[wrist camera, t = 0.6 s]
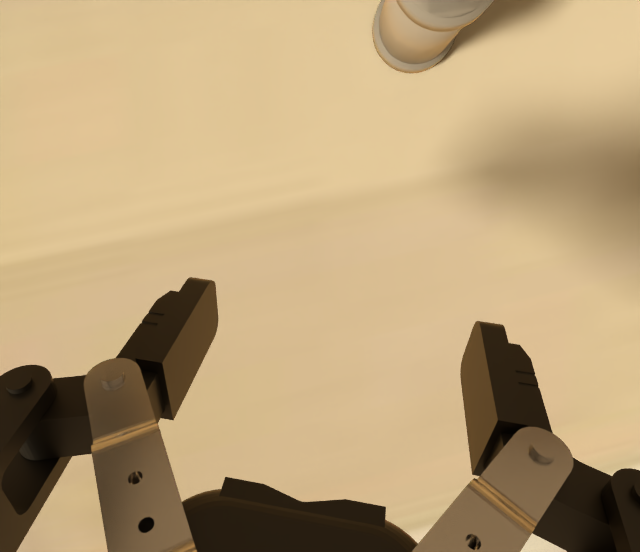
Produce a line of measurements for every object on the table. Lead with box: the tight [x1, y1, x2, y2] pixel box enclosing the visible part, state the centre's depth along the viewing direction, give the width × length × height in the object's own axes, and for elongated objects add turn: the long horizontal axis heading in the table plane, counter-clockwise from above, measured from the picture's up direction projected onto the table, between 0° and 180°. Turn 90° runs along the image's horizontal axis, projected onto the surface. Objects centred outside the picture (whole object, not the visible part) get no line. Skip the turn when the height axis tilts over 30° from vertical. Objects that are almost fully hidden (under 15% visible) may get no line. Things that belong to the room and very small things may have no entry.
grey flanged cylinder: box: [372, 0, 494, 73], centre depth 26 cm, size 5×5×9 cm
